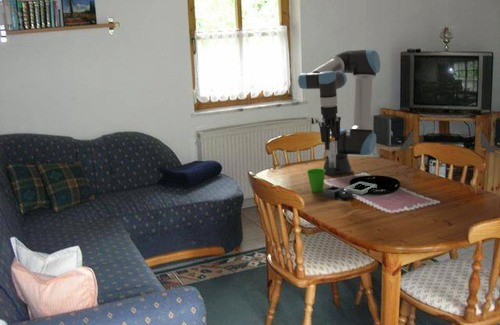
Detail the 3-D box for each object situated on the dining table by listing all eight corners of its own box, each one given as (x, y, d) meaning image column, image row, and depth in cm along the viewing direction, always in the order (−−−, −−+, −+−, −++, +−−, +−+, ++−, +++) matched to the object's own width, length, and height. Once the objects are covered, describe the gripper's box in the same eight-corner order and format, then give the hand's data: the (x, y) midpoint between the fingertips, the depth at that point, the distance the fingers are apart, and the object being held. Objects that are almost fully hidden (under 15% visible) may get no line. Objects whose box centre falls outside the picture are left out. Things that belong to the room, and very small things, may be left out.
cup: (326, 195, 284) (324, 173, 281) (307, 195, 286) (305, 173, 283) (327, 189, 293) (326, 168, 290) (309, 189, 295) (307, 168, 292)
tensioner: (332, 192, 288) (332, 182, 286) (357, 197, 277) (357, 187, 275) (320, 197, 282) (319, 187, 281) (345, 203, 271) (344, 193, 270)
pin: (332, 165, 281) (330, 136, 277) (338, 166, 278) (336, 136, 274) (326, 167, 278) (324, 137, 274) (333, 168, 275) (331, 138, 272)
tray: (360, 186, 293) (359, 181, 292) (376, 189, 286) (376, 184, 285) (344, 192, 285) (344, 188, 285) (361, 196, 278) (361, 191, 277)
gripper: (334, 101, 278) (336, 149, 284) (310, 108, 268) (314, 158, 274) (346, 102, 273) (349, 151, 279) (323, 109, 262) (326, 160, 269)
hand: (331, 155), depth 276 cm, fingers closed on pin, 3 cm apart
